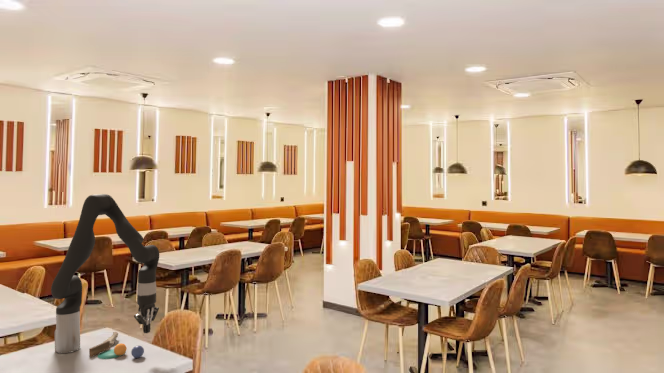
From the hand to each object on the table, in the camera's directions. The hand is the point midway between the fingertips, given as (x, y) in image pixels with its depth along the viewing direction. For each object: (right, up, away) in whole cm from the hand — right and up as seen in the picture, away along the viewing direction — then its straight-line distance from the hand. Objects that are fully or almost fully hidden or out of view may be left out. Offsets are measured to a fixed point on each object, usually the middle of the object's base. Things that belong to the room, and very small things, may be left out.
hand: (146, 332), depth 183 cm
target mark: (-18, -11, +5) cm, 22 cm away
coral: (-25, -12, +19) cm, 33 cm away
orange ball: (-13, -9, +4) cm, 17 cm away
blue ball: (-4, -9, +1) cm, 10 cm away
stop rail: (-24, -11, +7) cm, 28 cm away
